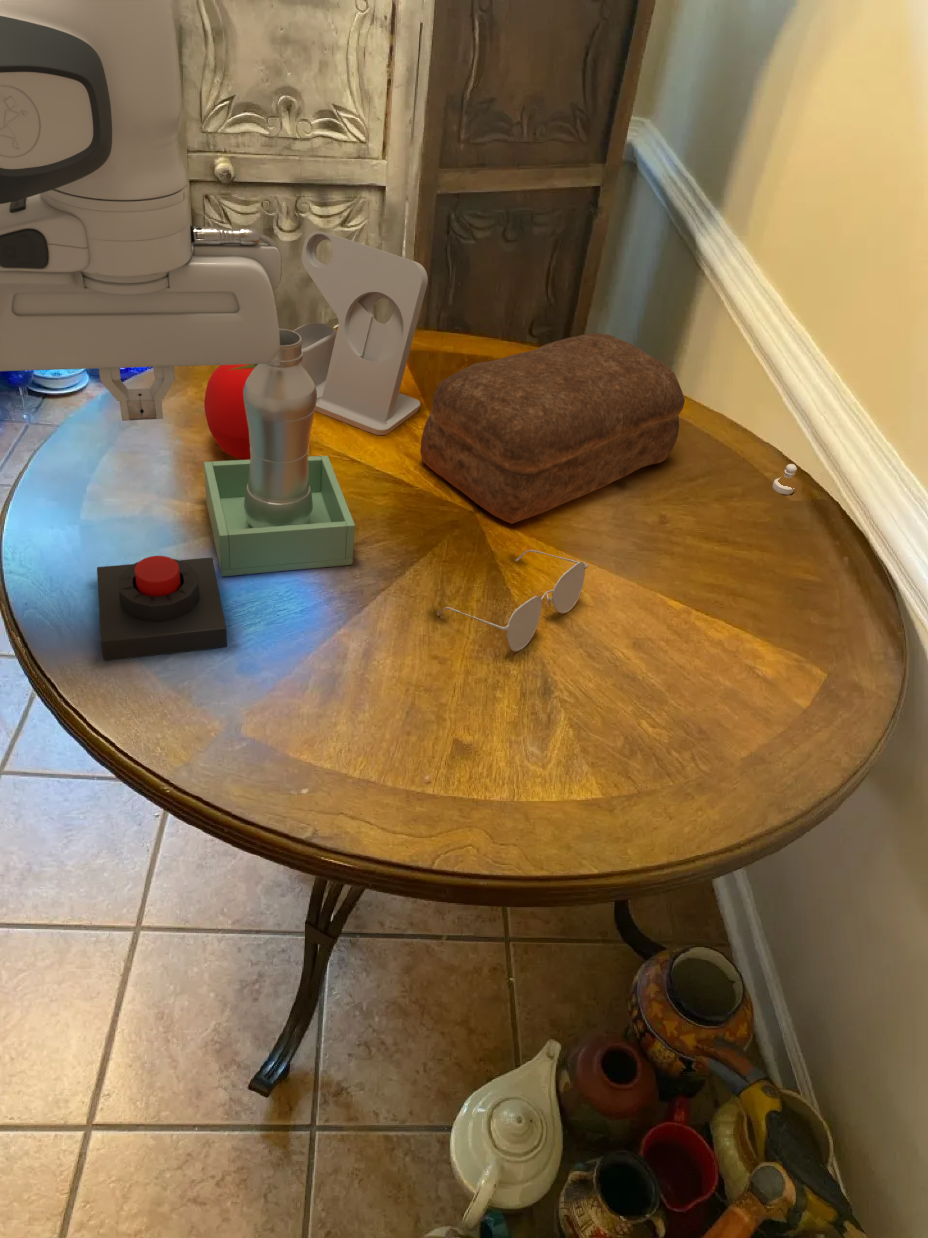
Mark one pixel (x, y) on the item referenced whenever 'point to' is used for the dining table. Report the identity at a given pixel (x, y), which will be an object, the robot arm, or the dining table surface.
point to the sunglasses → (529, 612)
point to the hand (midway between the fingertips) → (142, 416)
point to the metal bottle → (279, 437)
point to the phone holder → (362, 333)
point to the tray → (281, 545)
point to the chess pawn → (789, 472)
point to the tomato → (229, 409)
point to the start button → (157, 576)
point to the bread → (551, 423)
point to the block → (160, 613)
